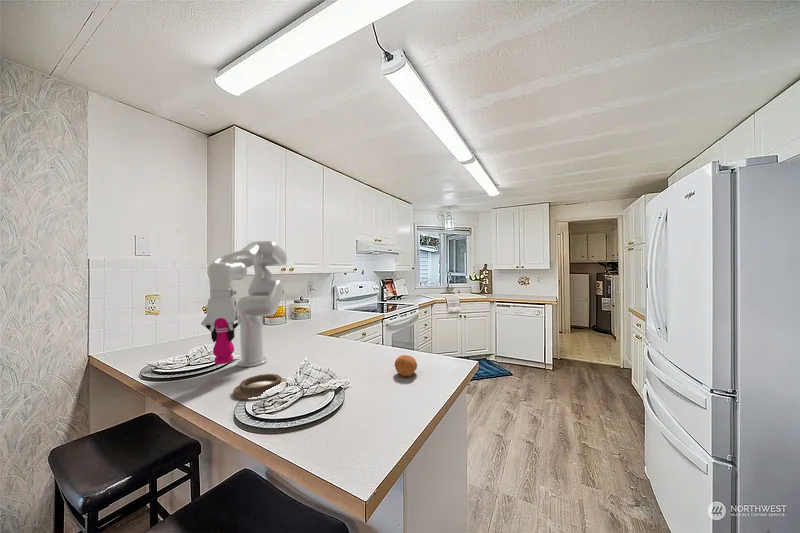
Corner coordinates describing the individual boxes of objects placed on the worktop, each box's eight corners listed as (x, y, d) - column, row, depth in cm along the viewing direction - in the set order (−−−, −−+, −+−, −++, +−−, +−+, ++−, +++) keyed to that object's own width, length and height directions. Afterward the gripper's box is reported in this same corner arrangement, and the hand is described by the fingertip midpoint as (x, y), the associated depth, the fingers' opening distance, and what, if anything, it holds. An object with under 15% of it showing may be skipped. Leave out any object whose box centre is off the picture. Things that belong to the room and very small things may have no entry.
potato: (390, 377, 120) (389, 358, 120) (400, 368, 130) (400, 350, 130) (412, 380, 116) (411, 360, 116) (420, 370, 127) (420, 352, 127)
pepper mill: (225, 365, 114) (222, 312, 114) (208, 364, 116) (206, 312, 115) (238, 358, 121) (236, 309, 121) (223, 357, 123) (221, 309, 122)
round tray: (241, 382, 117) (241, 374, 117) (290, 377, 121) (290, 370, 121) (226, 403, 100) (225, 393, 100) (283, 396, 104) (283, 387, 104)
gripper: (247, 292, 123) (249, 336, 124) (200, 294, 119) (202, 339, 120) (242, 294, 116) (244, 341, 117) (192, 296, 112) (194, 345, 113)
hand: (223, 340), depth 118 cm, fingers closed on pepper mill, 5 cm apart
